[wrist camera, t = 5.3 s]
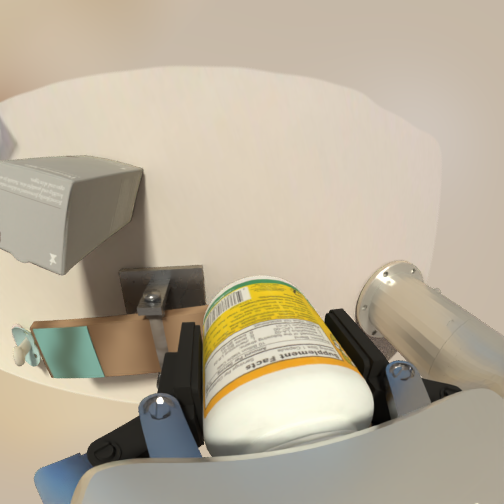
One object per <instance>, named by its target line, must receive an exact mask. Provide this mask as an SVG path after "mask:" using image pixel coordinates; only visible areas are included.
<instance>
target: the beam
mask: <svg viewBox="0 0 504 504" xmlns="http://www.w3.org/2000/svg"><path fill="white" fill-rule="evenodd" d="M208 306H209V305H203V306H196V307H188V308H181V309H173V310H164V311H163V315H142V316H138V314H128V315H118V316H107V317H95V318H83V319H69V320H53V321H34V322H33V324H32V325H31V327H30V330H31V333H32V335H33V338H34V340H35V343H36V345H37V347H38V350H39V352H40V354H41V357H42V359H43V361H44V363H45V365H46V367H47V369H48V371H49V373H50V375H51V377H52V378H97V377H108V376H123V375H136V374H146V373H156V372H159V373H160V375H161V371H162V366H163V361H164V356H165V353H166V352H177V351H178V344H179V338H180V331H181V325H182V322H195V325H200V328H201V336H202V344H203V320H204V315H205V313H206V310H207V308H208Z"/></svg>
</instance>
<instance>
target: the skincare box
mask: <svg viewBox="0 0 504 504" xmlns="http://www.w3.org/2000/svg"><path fill="white" fill-rule="evenodd" d="M142 172H143V169H142V168H140V167H136V166H133V165H129V164H126V163H122V162H118V161H114V160H110V159H105V158H100V157H94V156H87V155H80V156H57V157H40V158H28V159H17V160H5V161H0V249H2V250H4V251H6V252H9V253H11V254H12V255H13V256H14V258H16V259H17V260H18V261H20V262H22V263H28V262H30V263H32V264H34V265H37V266H39V267H41V268H44V269H46V270H49V271H51V272H54V273H56V274H59V275H65V274H66V273H67V272H68V271H69V270H70V269H71V268H72V267H73V266H74V265H76V264H77V263H78V262H79V261H80V260H82V259H83V258H84V257H85V256H86V255H88V254H89V253H90V252H91V251H93V250H94V249H95V248H96V247H98V246H99V245H100V244H101V243H102V242H104V241H105V240H106V239H108V238H109V237H110V236H112V235H113V234H114V233H116V232H117V231H118V230H120V229H121V228H122V227H124V226H125V225H126V224H128V223H129V222H130V221H131V217H132V213H133V208H134V204H135V200H136V195H137V191H138V187H139V184H140V180H141V176H142Z"/></svg>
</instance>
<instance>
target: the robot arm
mask: <svg viewBox="0 0 504 504" xmlns="http://www.w3.org/2000/svg"><path fill="white" fill-rule="evenodd" d="M357 320H358V323H359V325H360V327H361V328H362V329H363V331H364V332H365V333H366V334H367V335H369V336H371V337H375V338H384V337H385V338H386V339H387V340H388V341H389V343H390V344H391V345H392V346H393V347H394V348H395V349H396V350H397V351H398V352H399V353H400V354H401V355H402V356H403V357H404V358H405V359H406V360H407V361H408V362H406V361H399V360H398V361H393V362H391V363H389V362H388V361H387V360H386V357H385V356H384V355H383V354H382V353H381V352H380V350H379V349H378V348H377V347H376V346H375V345H374V344H373V342H372V341H371V340H370V339H369V338H368V337H367V336H366V334H365V333H364V332H363V331H362V330H361V329H360V328H359V326H358V325H357V324H356V323H355V322H354V321H353V320H352V319H351V317H350V316H349V315H348V314H347V313H346V312H345V311H344V310H343V309H334V310H330V311H329V313H327V314H326V315H325V322H324V323H325V325H326V326H327V327H328V329H329V330H330V331H331V333H332V334H333V336H334V337H335V338H336V340H337V341H338V343H339V344H340V345H341V347H342V348H343V350H344V351H345V352H346V354H347V355H348V356H349V358H350V359H351V361H352V362H353V363H354V365H355V366H356V367H357V369H358V371H359V372H360V374H361V375H362V376H363V378H364V379H365V381H366V383H367V384H368V386H369V388H370V390H371V393H372V396H373V401H374V412H373V417H372V421H371V424H370V426H369V428H367V429H364V430H361V431H358V432H354V433H351V434H348V435H344V436H341V437H337V438H333V439H329V440H326V441H321V442H317V443H313V444H308V445H304V446H299V447H293V448H288V449H282V450H276V451H269V452H262V453H254V454H245V455H234V456H220V457H202V455H201V453H200V451H199V449H198V448H199V447H200V446H201V445H204V434H203V380H202V353H203V344H202V336H201V328H200V325H195V322H182V325H181V331H180V338H179V344H178V351H177V352H166V353H165V356H164V361H163V366H162V371H161V376H160V381H159V387H158V392H157V393H155V394H152V395H149V396H147V397H145V398H144V399H143V400H142V401H141V402H140V404H139V407H138V410H139V411H138V412H139V416H138V417H136V418H134V419H133V420H131V421H129V422H128V423H126V424H124V425H122V426H121V427H119V428H117V429H115V430H114V431H112V432H110V433H108V434H106V435H105V436H103V437H101V438H99V439H97V440H95V441H94V442H93V443H91V445H90V446H89V448H88V450H87V453H85V454H83V455H81V454H80V453H77V454H75V455H73V456H70V457H68V458H65V459H63V460H61V461H58V462H55V463H53V464H50V465H47V466H45V467H42V468H40V469H39V470H38V471H37V472H36V474H35V476H34V482H35V486H36V488H37V490H38V493H39V495H40V497H41V499H42V502H43V504H504V336H503V335H502V334H500V333H499V332H497V331H495V330H494V329H493V328H491V327H490V326H488V325H487V324H485V323H484V322H482V321H481V320H480V319H478V318H477V317H475V316H474V315H472V314H471V313H469V312H467V311H466V310H465V309H463V308H462V307H460V306H459V305H457V304H456V303H454V302H453V301H451V300H450V299H448V298H447V297H445V296H443V295H442V294H441V291H440V289H439V288H436V289H432V288H431V287H429V286H428V285H426V284H424V281H423V277H422V274H421V272H420V270H419V269H418V268H417V267H416V266H414V265H413V264H411V263H409V262H407V261H394V262H391V263H388V264H387V265H385V266H383V267H381V268H380V269H379V270H378V271H376V272H375V273H374V275H373V276H372V277H371V278H370V279H369V280H368V282H367V283H366V285H365V286H364V288H363V290H362V292H361V294H360V297H359V300H358V304H357ZM420 375H421V376H422V377H423V378H421V377H420Z"/></svg>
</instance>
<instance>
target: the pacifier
mask: <svg viewBox="0 0 504 504" xmlns="http://www.w3.org/2000/svg"><path fill="white" fill-rule="evenodd" d="M12 335H13V338H14V341H15V343H16V345H17V346H15V347H14V349H13V358H14V361H15V363H16V365H17V366H22V365H23V364H24V363H25V361H26V362H27V363H28V364H30V365H31V366H37V365H38V364H39V362H40V352H39V350H38V348H37V346H36V344H35V341H34V338H33V336H32V335H31V333H30V332H28V331H27V330H25V329H23V328H22V327H21V326H19V325H18V324H14V325H13V326H12ZM34 353H35V354H36V355H37V358H36V357H35V355H34Z"/></svg>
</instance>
